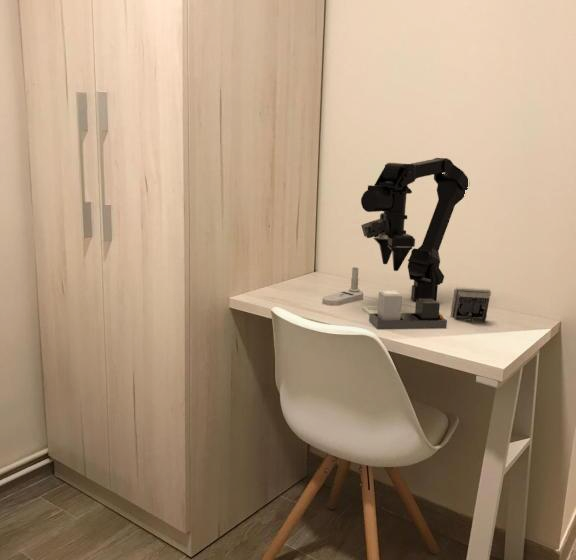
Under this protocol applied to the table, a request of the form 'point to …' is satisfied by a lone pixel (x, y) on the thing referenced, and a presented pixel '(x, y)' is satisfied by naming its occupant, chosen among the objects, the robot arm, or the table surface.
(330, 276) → the table surface
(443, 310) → the table surface
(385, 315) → the plug
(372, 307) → the tray
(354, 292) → the electronic device
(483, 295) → the electrical switch
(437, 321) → the strip
